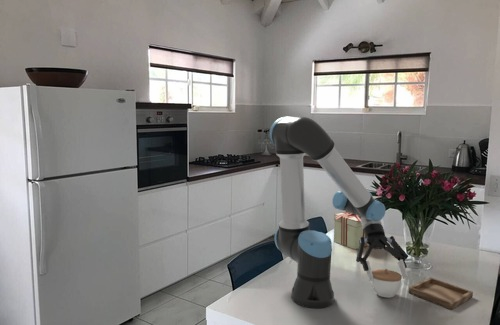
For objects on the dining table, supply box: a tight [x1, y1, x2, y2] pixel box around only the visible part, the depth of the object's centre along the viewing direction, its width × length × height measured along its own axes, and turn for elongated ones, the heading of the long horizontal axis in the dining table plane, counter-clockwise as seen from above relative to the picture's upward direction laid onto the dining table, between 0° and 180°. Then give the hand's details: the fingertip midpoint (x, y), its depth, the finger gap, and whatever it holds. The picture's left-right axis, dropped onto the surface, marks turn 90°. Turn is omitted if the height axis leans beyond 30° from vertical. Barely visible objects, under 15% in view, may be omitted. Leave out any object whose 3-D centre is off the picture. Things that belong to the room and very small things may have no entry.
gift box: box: [333, 211, 370, 250], centre depth 204 cm, size 17×18×17 cm
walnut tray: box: [408, 277, 474, 311], centre depth 148 cm, size 16×16×2 cm
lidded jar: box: [370, 268, 403, 299], centre depth 147 cm, size 11×11×9 cm
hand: (388, 278), depth 147 cm, fingers open, 13 cm apart
